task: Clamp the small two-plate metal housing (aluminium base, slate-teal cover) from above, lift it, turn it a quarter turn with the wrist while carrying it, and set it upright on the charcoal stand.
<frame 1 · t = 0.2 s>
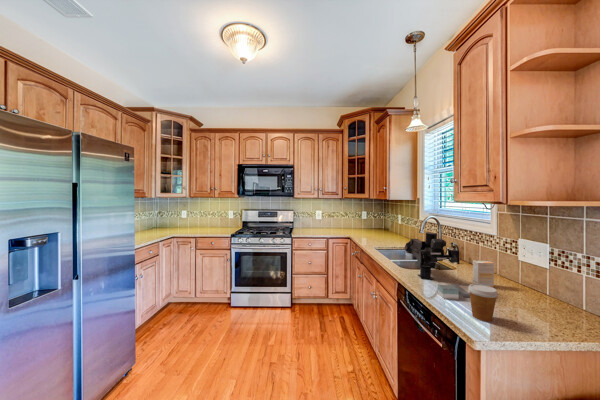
hand: (446, 261, 116), 17 cm above the counter, tool horizontal, fingers open, 9 cm apart
disposable coffee cup: (482, 318, 95), on the counter
stand: (470, 292, 120), on the counter
housing: (447, 297, 115), on the counter
supplement box: (482, 285, 129), on the counter
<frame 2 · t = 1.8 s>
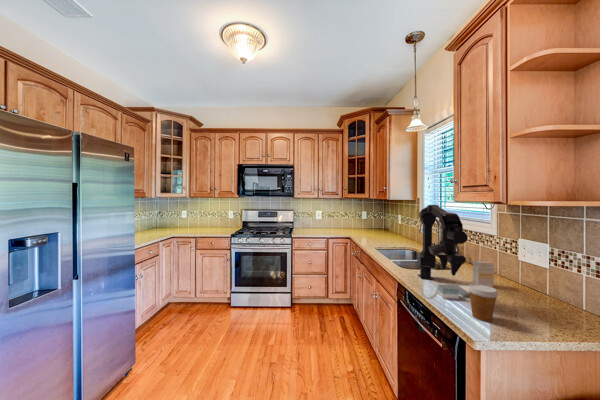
hand: (448, 272, 114), 12 cm above the counter, tool pointing down, fingers open, 9 cm apart
nothing on the counter moved.
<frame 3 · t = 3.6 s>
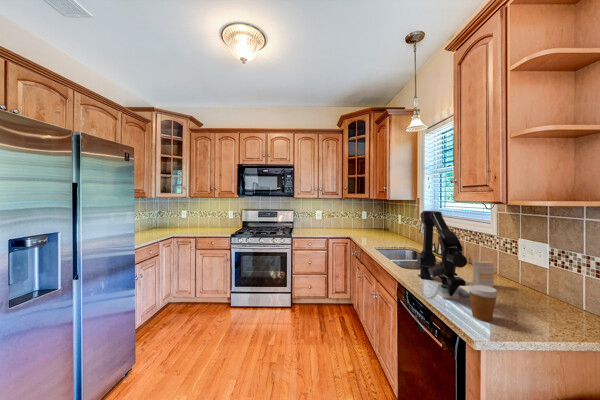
hand: (447, 293, 115), 2 cm above the counter, tool pointing down, fingers closed on housing, 5 cm apart
housing: (447, 296, 115), on the counter, touching gripper
everything else where it was.
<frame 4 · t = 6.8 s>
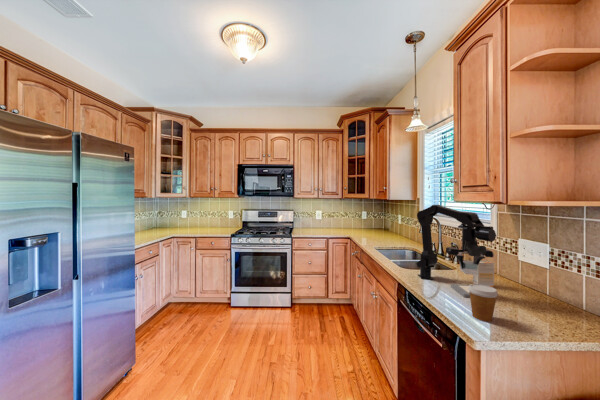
hand: (468, 269, 119), 12 cm above the counter, tool pointing down, fingers closed on housing, 5 cm apart
housing: (468, 272, 119), point 10 cm above the counter, touching gripper
everything else where it was.
when the fingers open (4 cm above the counter, at t = 9.7 s): housing drops 1 cm, resting on stand.
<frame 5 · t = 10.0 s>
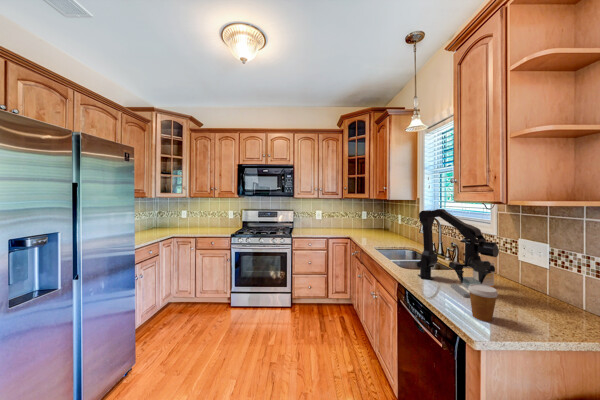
hand: (470, 283, 120), 4 cm above the counter, tool pointing down, fingers open, 8 cm apart
housing: (470, 289, 120), point 2 cm above the counter, touching stand
everything else where it was.
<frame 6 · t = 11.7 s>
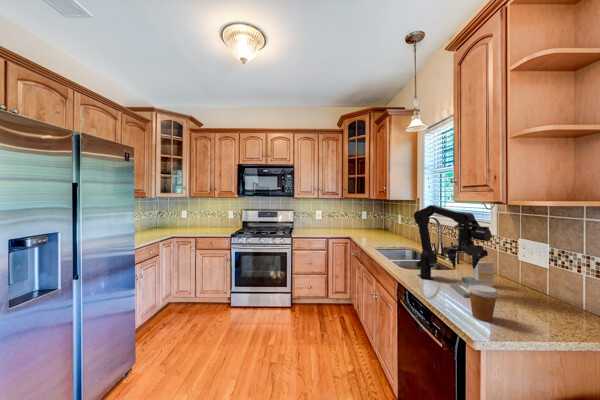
hand: (464, 268, 121), 12 cm above the counter, tool pointing down, fingers open, 9 cm apart
nothing on the counter moved.
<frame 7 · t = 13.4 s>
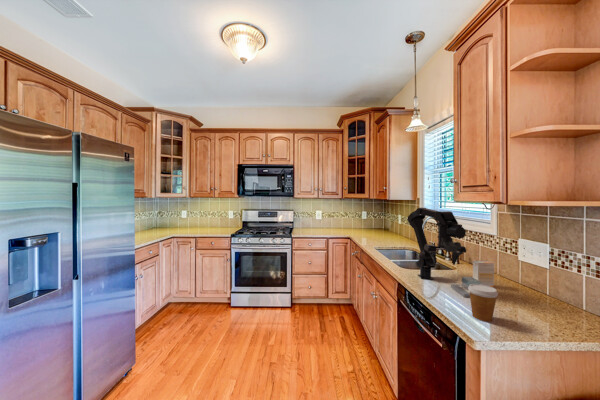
hand: (444, 264, 127), 12 cm above the counter, tool pointing down, fingers open, 9 cm apart
nothing on the counter moved.
at the end: housing inside the target area on the stand (0.1 cm from its centre), point 1.6 cm above the stand's base; housing tilted 0°; housing touching stand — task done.
